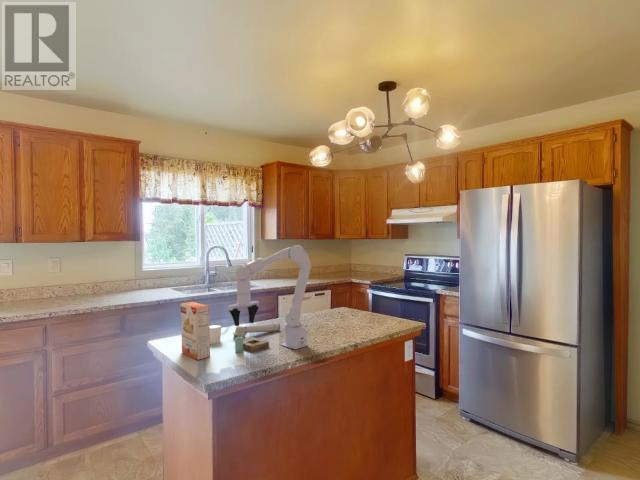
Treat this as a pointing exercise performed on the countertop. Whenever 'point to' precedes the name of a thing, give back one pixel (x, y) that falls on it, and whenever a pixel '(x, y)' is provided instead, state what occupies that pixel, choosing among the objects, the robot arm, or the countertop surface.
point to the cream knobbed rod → (255, 329)
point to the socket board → (254, 344)
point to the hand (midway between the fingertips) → (244, 324)
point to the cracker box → (195, 330)
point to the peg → (239, 345)
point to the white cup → (215, 333)
